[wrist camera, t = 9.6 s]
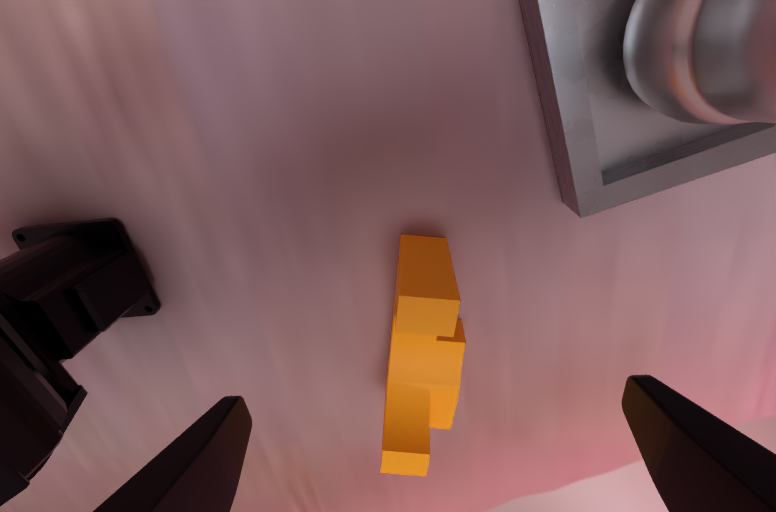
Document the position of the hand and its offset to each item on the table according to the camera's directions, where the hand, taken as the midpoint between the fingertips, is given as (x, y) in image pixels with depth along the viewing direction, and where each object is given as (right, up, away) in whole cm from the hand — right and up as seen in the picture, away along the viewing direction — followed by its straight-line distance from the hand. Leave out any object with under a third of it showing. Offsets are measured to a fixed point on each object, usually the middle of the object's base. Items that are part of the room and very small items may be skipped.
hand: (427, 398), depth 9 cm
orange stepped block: (+2, -1, +15) cm, 16 cm away
